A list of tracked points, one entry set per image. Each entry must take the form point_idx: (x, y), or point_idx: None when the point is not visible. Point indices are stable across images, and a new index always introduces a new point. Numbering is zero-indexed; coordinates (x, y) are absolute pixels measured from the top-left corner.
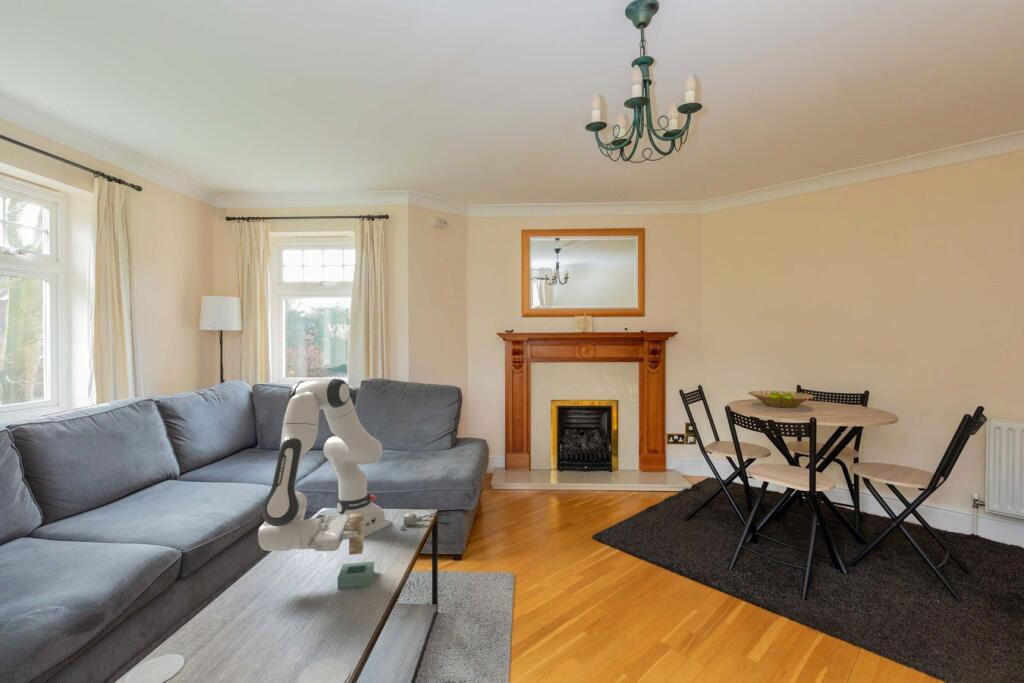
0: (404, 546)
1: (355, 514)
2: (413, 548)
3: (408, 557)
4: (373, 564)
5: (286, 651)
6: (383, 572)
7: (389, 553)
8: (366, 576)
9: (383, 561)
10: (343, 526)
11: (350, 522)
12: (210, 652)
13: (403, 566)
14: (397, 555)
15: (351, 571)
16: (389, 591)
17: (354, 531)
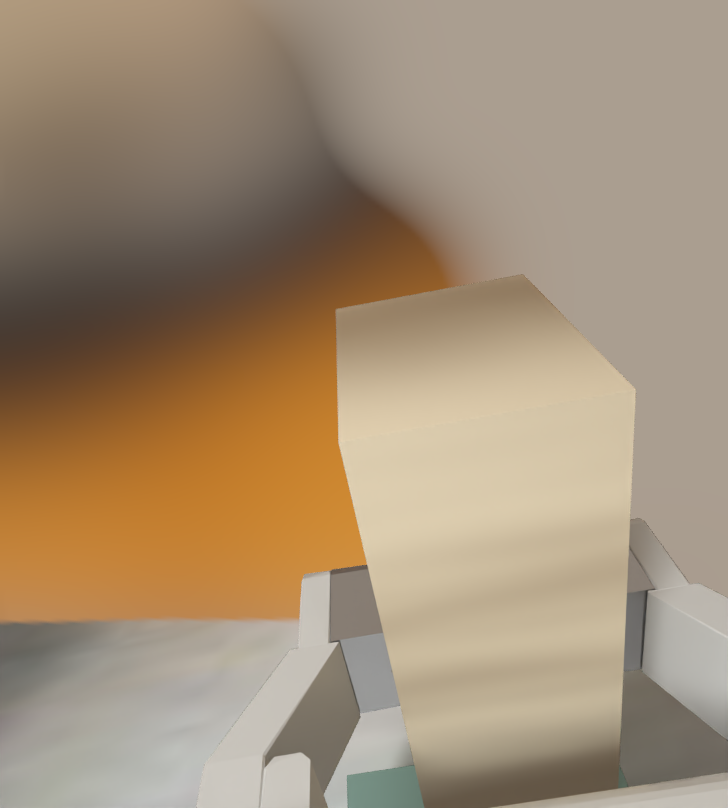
0: (24, 684)
1: (392, 364)
2: (91, 624)
3: (204, 626)
4: (384, 777)
5: None
6: (384, 741)
7: (77, 770)
8: (620, 779)
9: (198, 788)
10: (572, 804)
11: (615, 494)
12: None
13: None
14: (142, 701)
15: None
16: None
17: (660, 546)
